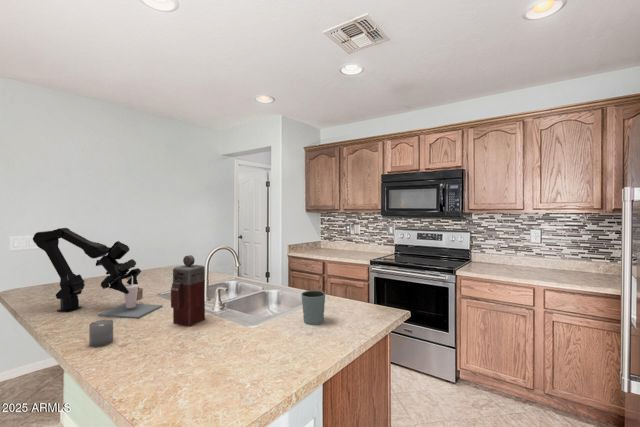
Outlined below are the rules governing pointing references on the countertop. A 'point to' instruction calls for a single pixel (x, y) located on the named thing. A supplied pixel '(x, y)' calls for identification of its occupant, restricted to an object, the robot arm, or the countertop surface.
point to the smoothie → (131, 295)
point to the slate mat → (130, 311)
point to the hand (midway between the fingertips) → (133, 291)
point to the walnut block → (140, 294)
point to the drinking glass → (313, 307)
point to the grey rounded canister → (100, 333)
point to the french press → (188, 293)
